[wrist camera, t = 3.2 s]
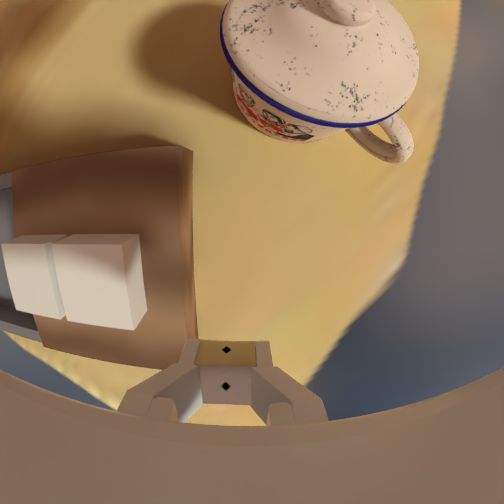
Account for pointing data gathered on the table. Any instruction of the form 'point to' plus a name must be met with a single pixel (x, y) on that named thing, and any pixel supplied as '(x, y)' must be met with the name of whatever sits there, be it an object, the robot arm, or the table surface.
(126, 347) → the walnut board
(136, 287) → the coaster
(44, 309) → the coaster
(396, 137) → the teacup with lid
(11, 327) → the tray
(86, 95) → the table surface
